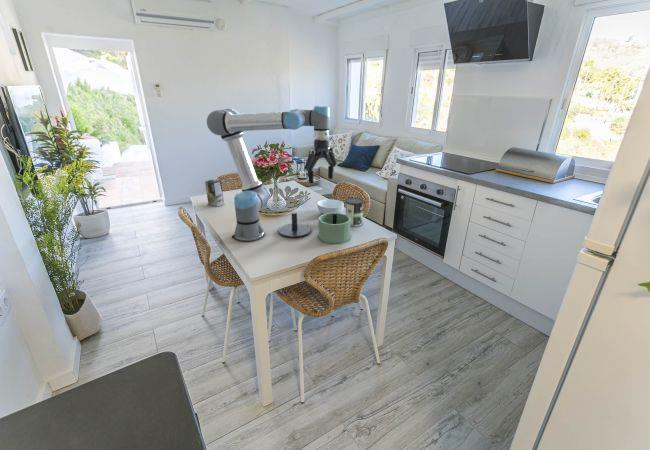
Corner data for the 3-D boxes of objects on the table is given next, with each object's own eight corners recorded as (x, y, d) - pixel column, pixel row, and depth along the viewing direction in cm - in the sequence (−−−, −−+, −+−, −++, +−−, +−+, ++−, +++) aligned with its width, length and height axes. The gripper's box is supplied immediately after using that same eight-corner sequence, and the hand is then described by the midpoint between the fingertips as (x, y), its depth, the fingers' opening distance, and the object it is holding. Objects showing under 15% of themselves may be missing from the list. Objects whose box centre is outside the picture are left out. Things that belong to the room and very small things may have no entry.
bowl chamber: (327, 245, 158) (327, 226, 154) (313, 233, 172) (313, 215, 168) (355, 239, 165) (356, 221, 161) (340, 228, 179) (341, 211, 175)
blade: (331, 239, 164) (331, 216, 159) (325, 234, 170) (325, 211, 165) (343, 237, 167) (343, 214, 162) (337, 232, 173) (337, 210, 168)
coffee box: (224, 204, 214) (221, 181, 208) (217, 206, 209) (213, 183, 203) (215, 201, 219) (212, 179, 212) (207, 204, 214) (204, 181, 207)
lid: (284, 240, 163) (284, 220, 159) (274, 228, 178) (273, 209, 174) (315, 234, 170) (315, 215, 166) (303, 223, 185) (303, 205, 181)
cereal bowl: (342, 219, 191) (342, 208, 188) (315, 217, 193) (315, 206, 190) (344, 209, 206) (345, 199, 204) (319, 208, 209) (319, 198, 206)
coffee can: (362, 220, 190) (364, 198, 184) (361, 227, 181) (362, 204, 175) (346, 219, 192) (346, 197, 186) (343, 225, 182) (344, 202, 177)
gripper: (306, 142, 145) (307, 186, 154) (344, 137, 161) (342, 178, 169) (296, 140, 150) (297, 183, 159) (334, 136, 166) (333, 175, 174)
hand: (320, 180), depth 164 cm, fingers open, 13 cm apart
